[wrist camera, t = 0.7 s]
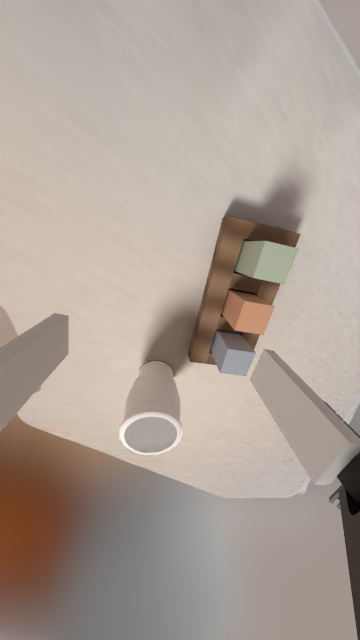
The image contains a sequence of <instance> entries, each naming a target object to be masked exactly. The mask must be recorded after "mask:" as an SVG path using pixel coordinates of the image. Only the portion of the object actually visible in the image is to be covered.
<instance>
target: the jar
mask: <svg viewBox="0 0 360 640" xmlns="http://www.w3.org/2000/svg"><path fill="white" fill-rule="evenodd" d="M181 437H182V425H181V422H180V398H179V394H178V390H177V387H176V383H175V381H174V379H173V371H172V369H171V368H170V366H169V365H167V364H166V363H164V362H161V361H151V362H148V363H146V364H144V365H143V366H142V367H141V368H140V370H139V372H138V377H137V378H136V380H135V382H134V384H133V386H132V389H131V390H130V393H129V395H128V398H127V401H126V406H125V412H124V421H123V422H122V424H121V426H120V430H119V439H120V442H121V444H122V445H123V446H124V447H125V448H126V449H127V450H129V451H131V452H133V453H136V454H139V455H158V454H162V453H165V452H167V451H169V450H171V449H172V448H174V447H175V446H176V445H177V444H178V443H179V441H180V439H181Z"/></svg>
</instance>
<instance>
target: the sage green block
mask: <svg viewBox="0 0 360 640" xmlns="http://www.w3.org/2000/svg"><path fill="white" fill-rule="evenodd" d="M297 251H298V248H294V247H290V246H286V245H281V244H277V243H273V242H269V241H244V242H243V245H242V248H241V251H240V255H239V258H238V261H237V265H236V268H235V271H236V272H239V273H241V274H244V275H247V276H249V277H252V278H256V279H261V280H266V281H270V282H275V283H280V284H284V283H285V280H286V278H287V275H288V273H289V271H290V268H291V266H292V263H293V261H294V259H295V256H296V254H297Z"/></svg>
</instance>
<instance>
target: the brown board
mask: <svg viewBox="0 0 360 640" xmlns="http://www.w3.org/2000/svg"><path fill="white" fill-rule="evenodd" d="M299 237H300V234H299V233H295V232H291V231H287V230H283V229H279V228H275V227H271V226H267V225H263V224H259V223H255V222H251V221H247V220H243V219H239V218H235V217H231V216H227V217H225V218H223V219H222V223H221V227H220V231H219V235H218V239H217V243H216V247H215V251H214V255H213V259H212V263H211V267H210V271H209V274H208V278H207V282H206V286H205V290H204V294H203V298H202V302H201V306H200V310H199V314H198V318H197V322H196V326H195V330H194V334H193V338H192V342H191V345H190V349H189V353H188V355H189V359H190V362H197V363H205V364H213V365H216V362H215V360H214V357H213V355H212V353H211V345H212V342H213V339H214V336H215V332H216V329H218V330H224V331H231V332H236V333H240V335H241V336H242V337H243V338H244V339H245V341H246V342H247V343H248V344H249V345H250V347H251V348H252V349H253V350H254V348H255V345H256V343H257V340H258V338H259V335H260V334H254V333H248V332H242V331H235V330H234V329H233V328H232V326H231V325H230V324H229V323H228V321H227V320H226V319H225V318H224V316H223V315H222V313H221V312H222V309H223V306H224V303H225V299H226V296H227V293H228V289H229V288H231V289H237V290H242V291H247V292H250V294H254V295H256V296H257V297H259V298H261V299H263V300H264V301H266V302H268V303H270V304H271V305H272V303H273V301H274V298H275V296H276V293H277V291H278V289H279V286H280V283H275V282H270V281H266V280H261V279H256V278H252V277H249V276H247V275H244V274H240V273H235V272H234V269H235V266H236V263H237V260H238V256H239V253H240V250H241V246H242V243H243V240H244V241H269V242H273V243H277V244H281V245H286V246H290V247H294V248H295V247H296V244H297V242H298V239H299Z"/></svg>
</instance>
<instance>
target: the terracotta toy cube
mask: <svg viewBox="0 0 360 640" xmlns="http://www.w3.org/2000/svg"><path fill="white" fill-rule="evenodd" d="M274 307H275V306H273V305H271V304H270V303H268V302H266V301H264V300H263V299H261V298H259V297H257V296H256V295H254V294H250V293H244V292H239V291H234V290H229V291H228V294H227V297H226V301H225V304H224V307H223V311H222V315H223V316H224V318H225V319H226V320H227V321H228V323H229V324H230V325H231V326H232V328H233V329H234V330H235V331H242V332H248V333H254V334H261V335H263V334H264V331H265V329H266V326H267V324H268V322H269V319H270V317H271V314H272V312H273V309H274Z"/></svg>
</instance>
